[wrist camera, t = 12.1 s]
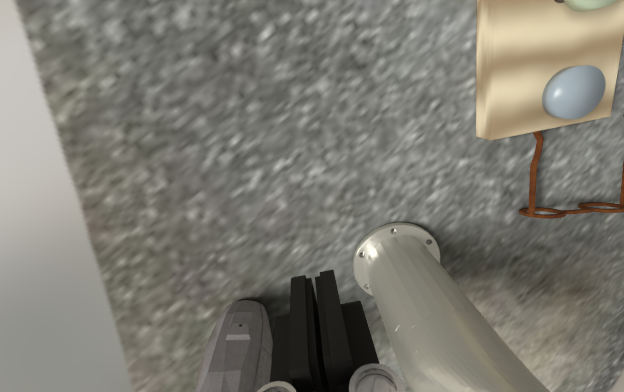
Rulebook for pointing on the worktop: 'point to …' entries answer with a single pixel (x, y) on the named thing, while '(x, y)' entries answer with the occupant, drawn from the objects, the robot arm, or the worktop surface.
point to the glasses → (560, 213)
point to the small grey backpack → (237, 351)
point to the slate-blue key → (573, 92)
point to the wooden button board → (539, 60)
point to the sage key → (587, 4)
